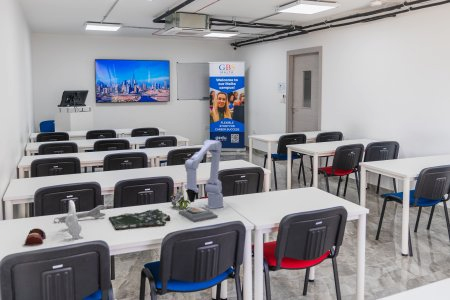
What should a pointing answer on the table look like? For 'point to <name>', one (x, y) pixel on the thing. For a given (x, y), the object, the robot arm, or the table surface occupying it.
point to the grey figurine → (73, 222)
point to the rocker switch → (197, 209)
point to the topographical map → (139, 220)
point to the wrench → (86, 214)
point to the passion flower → (178, 198)
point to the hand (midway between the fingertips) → (191, 201)
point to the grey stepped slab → (198, 215)
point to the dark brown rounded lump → (35, 237)
